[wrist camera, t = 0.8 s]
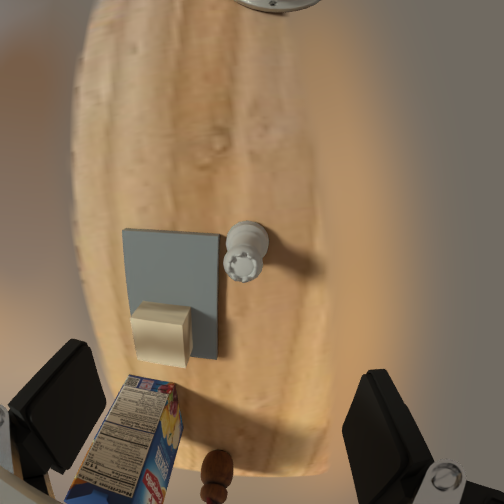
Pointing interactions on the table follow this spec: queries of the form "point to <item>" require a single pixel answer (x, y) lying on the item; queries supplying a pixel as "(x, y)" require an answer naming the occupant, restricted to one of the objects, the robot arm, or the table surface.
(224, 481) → the wooden figurine
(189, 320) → the beech block
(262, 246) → the rook chess piece
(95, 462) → the juice carton
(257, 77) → the table surface
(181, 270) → the plate
